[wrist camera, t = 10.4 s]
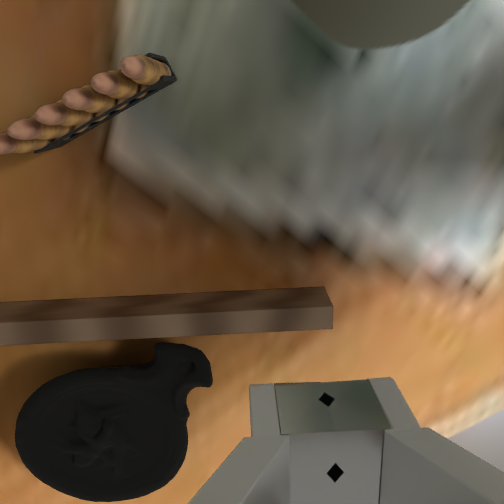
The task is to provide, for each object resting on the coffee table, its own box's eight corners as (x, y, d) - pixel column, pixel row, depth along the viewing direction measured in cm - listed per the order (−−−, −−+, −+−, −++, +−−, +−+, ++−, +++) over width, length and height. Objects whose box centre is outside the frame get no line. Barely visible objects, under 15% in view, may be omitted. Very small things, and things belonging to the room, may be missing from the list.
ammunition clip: (59, 147, 36) (-22, 172, 25) (44, 125, 36) (-45, 140, 24) (177, 79, 35) (149, 73, 23) (164, 56, 34) (129, 37, 23)
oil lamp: (262, 384, 44) (265, 419, 39) (119, 495, 48) (107, 539, 43) (148, 277, 40) (136, 302, 35) (3, 407, 44) (-25, 445, 39)
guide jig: (324, 286, 41) (335, 312, 36) (322, 427, 46) (332, 465, 41) (-62, 305, 40) (-102, 333, 35) (-22, 445, 45) (-53, 487, 40)
